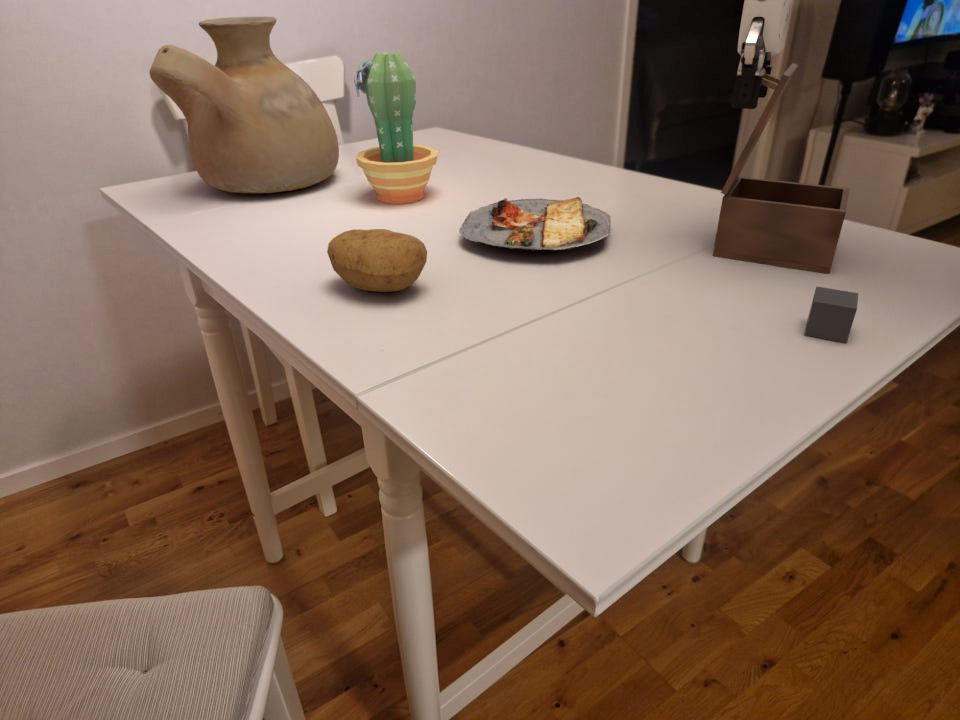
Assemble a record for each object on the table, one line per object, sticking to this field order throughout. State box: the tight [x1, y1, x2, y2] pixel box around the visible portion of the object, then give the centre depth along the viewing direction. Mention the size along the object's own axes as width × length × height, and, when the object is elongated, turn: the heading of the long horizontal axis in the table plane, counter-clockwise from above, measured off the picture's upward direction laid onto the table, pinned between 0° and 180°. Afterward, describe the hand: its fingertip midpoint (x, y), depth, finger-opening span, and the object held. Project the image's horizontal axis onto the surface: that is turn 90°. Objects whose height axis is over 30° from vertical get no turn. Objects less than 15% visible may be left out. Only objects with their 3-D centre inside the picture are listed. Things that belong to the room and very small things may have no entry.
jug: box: [148, 16, 340, 194], centre depth 126 cm, size 29×34×30 cm
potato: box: [326, 228, 428, 293], centre depth 87 cm, size 10×14×8 cm
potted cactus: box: [353, 51, 439, 205], centre depth 119 cm, size 15×15×25 cm
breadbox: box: [712, 176, 851, 275], centre depth 96 cm, size 16×12×9 cm
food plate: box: [458, 196, 612, 252], centre depth 105 cm, size 25×23×4 cm
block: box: [804, 286, 859, 344], centre depth 75 cm, size 4×4×4 cm
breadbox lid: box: [720, 62, 799, 196], centre depth 92 cm, size 16×12×5 cm
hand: (749, 101), depth 90 cm, fingers open, 8 cm apart
